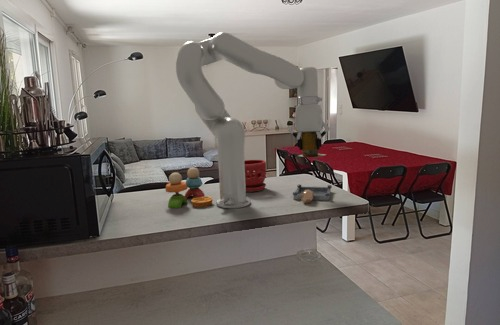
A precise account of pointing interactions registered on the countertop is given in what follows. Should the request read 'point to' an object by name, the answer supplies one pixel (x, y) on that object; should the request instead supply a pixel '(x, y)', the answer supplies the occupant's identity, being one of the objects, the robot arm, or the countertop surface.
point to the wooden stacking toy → (194, 190)
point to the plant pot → (255, 175)
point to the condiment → (309, 145)
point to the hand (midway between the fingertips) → (309, 148)
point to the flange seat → (312, 193)
